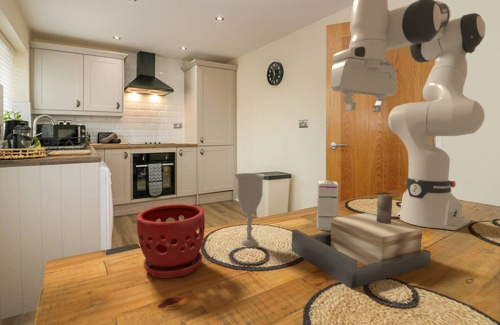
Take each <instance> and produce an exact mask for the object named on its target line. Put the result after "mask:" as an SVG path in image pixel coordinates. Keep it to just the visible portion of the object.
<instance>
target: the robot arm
mask: <svg viewBox="0 0 500 325" xmlns="http://www.w3.org/2000/svg"><path fill="white" fill-rule="evenodd" d="M450 19H451V9H450V7H449V5H447V4H446V3H444V1H439V0H416V1H414V2H412V3H410V4H406V5H404V6H401V7H398V8H395V9H392V10H389V6H388V0H353V1H352V4H351V11H350V21H349V32H350V41H349V45H348V48H346V49H344V50H341V51H338V52H336V53H334V54H333V56H332V61H333V63H334V64H332V67H331V74H330V86H331V89H332V91H333V92H339V93H340V92H341V93H342V97H343V100H344V102H345V104H346V105H345V110H346V111H355V110H356V105H357V104H356V102H354V99H353V97H352V96H354V94H358V95H368V96H375V100H376V101H375V104H374V105H372V110H371V111H372V112H373V113H382V108H383V105H384V102H385V101H386V98H387V97H390V96H395V95H396V94H397V92H398V91H397V90H398V82H397V81H398V77H397V71H396V68H395V65H394V63H392V61H390V60H386V59H387V58H386V57H387V51H391V50H394V49H399V48H404V47H409V52H410V55H411V57H412V59H413V60H414V61H416V63H427V62H430V61H432V60H433V61H434V60H436V62H435V63H434V65H433V67H432V68H431V70H430V71H429V74H428V76H427V78H426V82H425V83H424V85H423V86H424V87H423V88H422V97H423V99H424V100H425V101H417V102H408V103H402V104H399V105H397V106H394V107H393V108H392V109H391V110H390V112H389V114H388V118H387V124H388V127H389V129H390V131H391V132H392V133H393V134H394V135H396V136H397V137H398V138H399V139H400V140H401V141H402V142H403V145H404V146H405V148H406V151H407V158H408V161H407V162H408V175H407V177H406V180H405V188H406V190H405V191H404V192H403V194H402V199H401V204H400V211H397V214H399V215H400V216H399V219H400V220H401V221H403V222H405V223H406V224H409V225H413V226H418V227H424V228H429V229H431V228H432V229H441V230H442V229H443V230H444V229H445V230H450V231H451V230H452V231H457V230H458V229H461V228H464V226H467V225H469V224H470V223H472V221H471V219H470V218H468V217H465V216H463V204H462V203H461V201H460V200H458V198H456V197H455V196H454V195H453V193H452V188H456V187H457V186H456V185H457V183H456V181H455V180H449V174H450V162H451V159H450V156H449V154H448V153H447V152H446V151H445V150H443V149H441V148H439V147H436V146H435V145H433V144H432V142H431V140H430V137H459V136H465V135H472V134H475V133H476V132H477V131H478V130H479V129H480V128H481V127H482V125H483V124H484V121H485V110H484V108H483V106H482V105H481V103H479V102H478V101H477V100H473V99H471V98H469V97H467V96H465V95H464V94H463V93H464V86H465V83H466V79H467V75H468V61H467V58H466V56H467V54H473V53H474V52H475V51H476V48H477V47H478V46H479V45H480V44H481V42H482V41H483V40H484V38H485V35H486V34H485V33H486V22H485V20H484V19H483V18H482V16H481V15H480V14H478V13H477V12H476V13H475V12H473V13H468V14H464V15H462V16H459V17H457V18H454V19H451V20H450Z"/></svg>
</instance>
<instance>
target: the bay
mask: <svg viewBox="0 0 500 325" xmlns="http://www.w3.org/2000/svg"><path fill="white" fill-rule="evenodd" d="M291 251H292V252H293V253H295V254H296V255H298V256H299V257H301V258H302V259H303V260H305V261H307V262H309V264H311V265H314V266H315V267H316V268H318V269H319V270H321V271H322V272H324V273H326V274H327V275H329V276H330V277H332V278H333V279H335V280H336V281H338V282H339V283H341V284H343V285H344V286H346V287H347V288H349V289H351V290H352V289H355V288H359V287H363V286H366V285H370V284H372V283H375V282H379V281H383V280H385V279H389V278H392V277H395V276H398V275H402V274H405V273H408V272H413V271H415V270H418V269H422V268H425V267H428V266H430V265H431V259H432V258H431V257H432V256H431V255H432V252H431V251H430V250H427V249H421V251H418V252H414V253H410V254H407V255H403V256H399V257H395V258H391V259H387V260H384V261H380V262H376V263H372V264H368V265H365V264H363V265H361V266H358V261H357V260H355V259H354V258H352V257H350V256H348V255H346V254H344V253H342V252H340V251H338V250H336V249H334V248H332V247H331V231H328V232H321V233H316V234H311V235H308V234H306V233H304V232H302V231H300V230H299V229H291Z"/></svg>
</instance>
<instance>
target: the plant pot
mask: <svg viewBox="0 0 500 325" xmlns="http://www.w3.org/2000/svg"><path fill="white" fill-rule="evenodd" d="M180 216H182V217H183V219H181V220H180ZM169 218H171V219H172V220H173V221H167V220H168V219H169ZM157 220H160V221H157ZM205 220H206V219H205V212H204V209H203V208H202V207H200V206H197V205H193V204H184V203H183V204H182V203H175V204H163V205H159V206H158V205H157V206H153V207H150V208H147V209H144V210H143V211H141V212H139V213H138V214H137V216H136V229H137V231H136V232H137V237H138V238H137V239H138V242H139V247H140V250H141V253H142V255H143V256H144V261H143V268H144V269H145V271H146V272H147V273H148V274H150V275H152V276H153V277H158V278H163V279H171V278H178V277H183V276H186V275H188V274H190V273H192V272H193V271H195V270H197V268H199V266H200V265H201V263H202V261H203V255H202V253H201V252H200V251H201V249H202V245H203V243H204V238H205V227H206V226H205V225H206V224H205ZM198 229H199V230H198ZM197 230H198V231H197Z"/></svg>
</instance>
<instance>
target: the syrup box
mask: <svg viewBox="0 0 500 325" xmlns="http://www.w3.org/2000/svg"><path fill="white" fill-rule="evenodd" d="M339 185H340V184H339V183H338V181H336V180H318V181H317V191H316V192H317V196H316V198H317V199H316V209H317V210H316V230H317V231H328V232H331V222H332V218H336V217H339Z"/></svg>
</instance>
